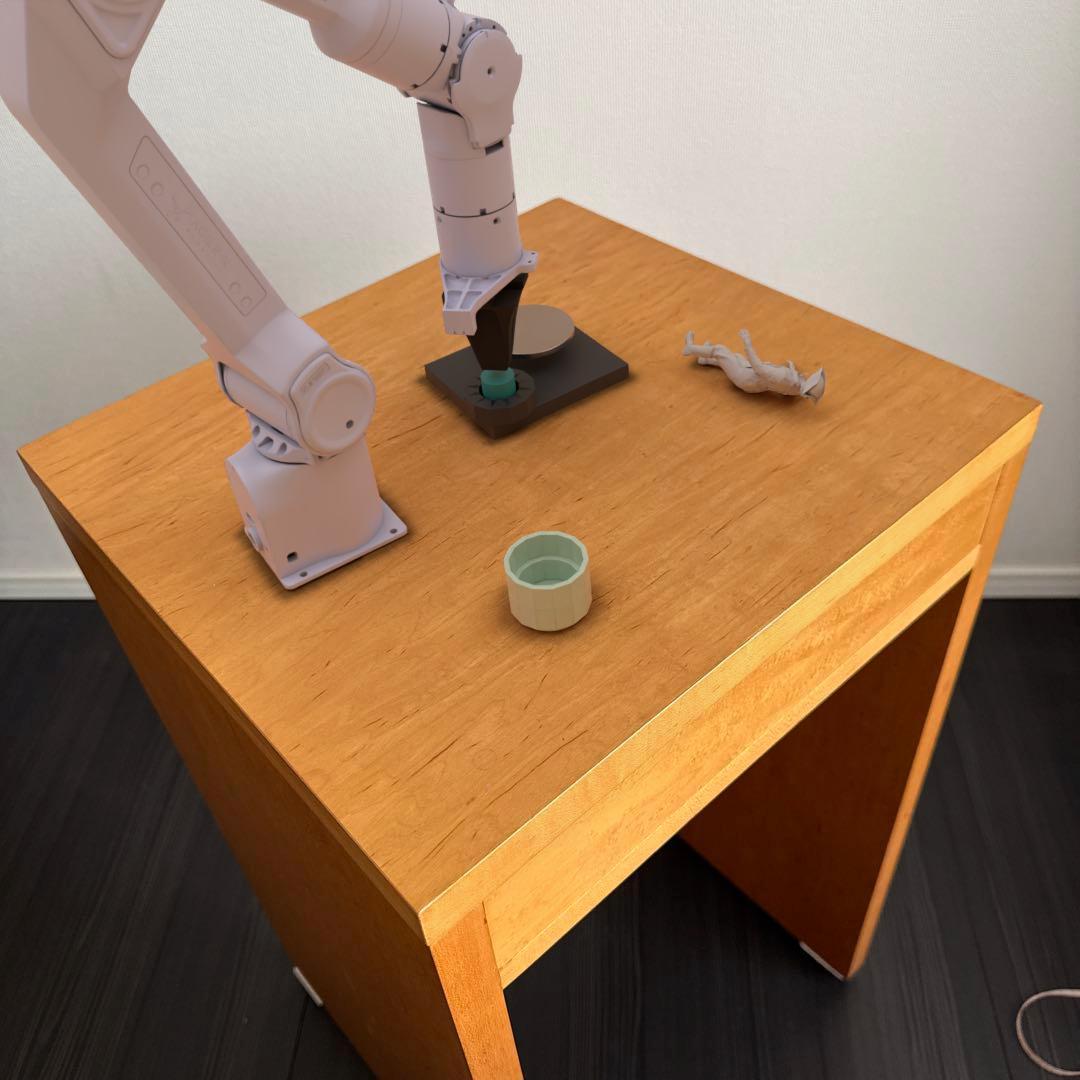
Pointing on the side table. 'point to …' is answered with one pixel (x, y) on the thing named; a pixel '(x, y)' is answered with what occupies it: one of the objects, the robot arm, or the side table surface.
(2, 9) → the robot arm
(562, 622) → the pale green cup
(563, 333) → the scale plate
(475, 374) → the scale
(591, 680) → the side table surface
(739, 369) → the soldier figure
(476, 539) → the side table surface
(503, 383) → the tare button
